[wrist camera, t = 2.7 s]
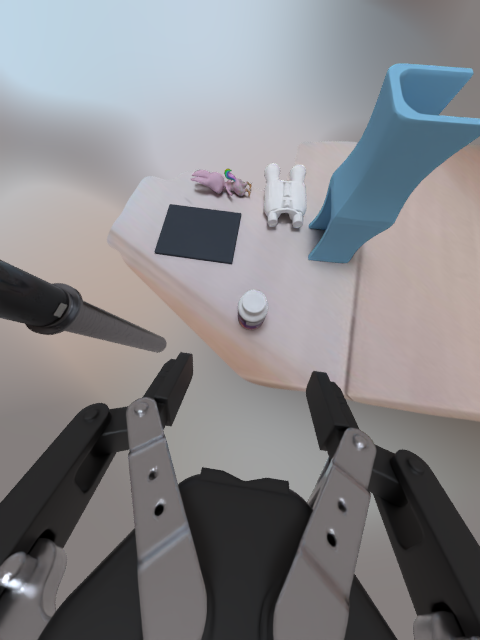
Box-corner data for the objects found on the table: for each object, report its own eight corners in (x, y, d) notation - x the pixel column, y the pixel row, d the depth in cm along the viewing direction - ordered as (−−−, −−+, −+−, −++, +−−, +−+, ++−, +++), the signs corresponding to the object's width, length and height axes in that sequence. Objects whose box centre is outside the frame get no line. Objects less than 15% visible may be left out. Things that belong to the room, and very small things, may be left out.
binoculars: (302, 181, 50) (308, 162, 45) (304, 231, 45) (311, 216, 41) (263, 179, 50) (265, 160, 45) (261, 229, 45) (263, 213, 41)
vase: (351, 264, 43) (494, 126, 19) (308, 259, 43) (395, 118, 19) (349, 228, 46) (473, 68, 21) (308, 224, 46) (386, 61, 22)
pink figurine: (250, 188, 51) (194, 174, 49) (255, 166, 45) (192, 148, 43) (247, 207, 49) (189, 193, 47) (252, 185, 43) (187, 168, 41)
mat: (155, 253, 43) (154, 251, 43) (170, 206, 47) (169, 204, 47) (231, 264, 43) (231, 262, 42) (241, 215, 47) (241, 213, 46)
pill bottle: (236, 306, 40) (235, 286, 31) (261, 304, 40) (268, 283, 31) (239, 331, 39) (239, 318, 29) (265, 329, 39) (273, 315, 29)
